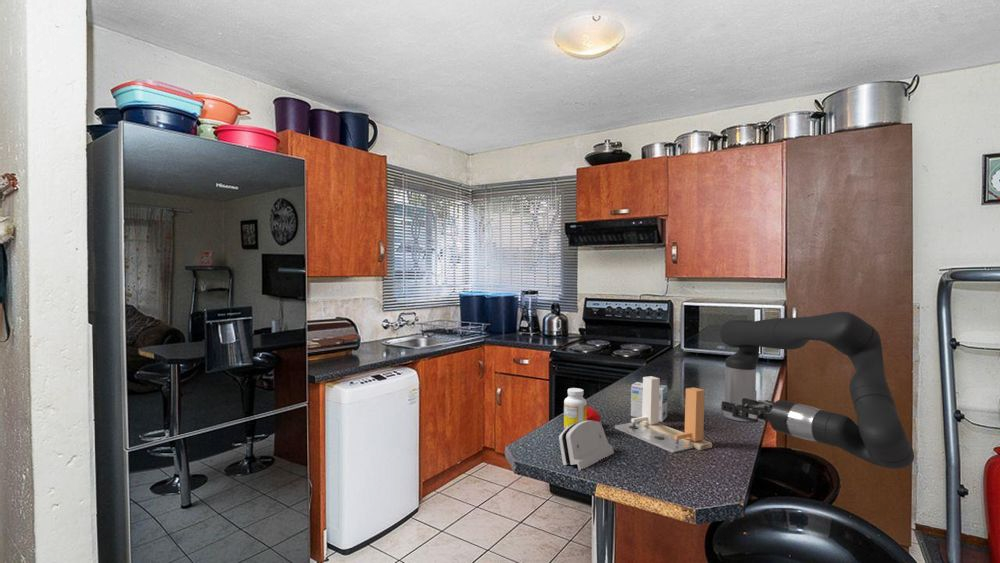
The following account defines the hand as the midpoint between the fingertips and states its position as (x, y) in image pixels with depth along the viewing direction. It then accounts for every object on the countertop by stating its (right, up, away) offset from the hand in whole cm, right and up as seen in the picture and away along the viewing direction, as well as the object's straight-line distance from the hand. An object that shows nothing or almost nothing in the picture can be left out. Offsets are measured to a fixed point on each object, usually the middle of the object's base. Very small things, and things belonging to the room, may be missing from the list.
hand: (732, 403), depth 119 cm
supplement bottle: (-38, -14, +17) cm, 44 cm away
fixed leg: (-16, -13, +23) cm, 31 cm away
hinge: (-39, -14, -1) cm, 41 cm away
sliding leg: (-8, -13, +9) cm, 18 cm away
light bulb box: (-10, -14, +35) cm, 39 cm away
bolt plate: (-16, -14, +15) cm, 26 cm away
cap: (-33, -14, +24) cm, 43 cm away
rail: (-9, -14, +16) cm, 23 cm away
